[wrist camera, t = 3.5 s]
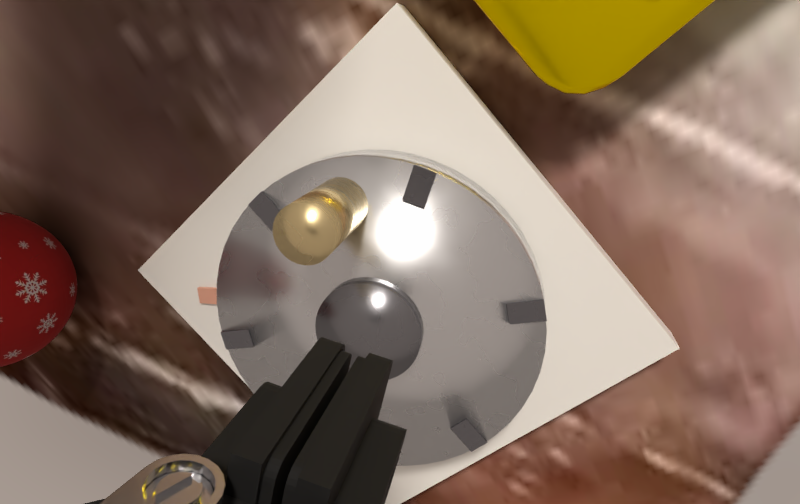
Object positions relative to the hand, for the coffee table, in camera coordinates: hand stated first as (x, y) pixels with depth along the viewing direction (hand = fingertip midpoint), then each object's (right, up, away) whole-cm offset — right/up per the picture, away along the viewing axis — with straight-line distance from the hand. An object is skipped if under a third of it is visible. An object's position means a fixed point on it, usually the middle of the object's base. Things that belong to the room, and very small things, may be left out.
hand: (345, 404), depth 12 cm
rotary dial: (0, +1, +16) cm, 16 cm away
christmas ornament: (-20, +3, +22) cm, 30 cm away
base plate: (+1, +1, +17) cm, 17 cm away
